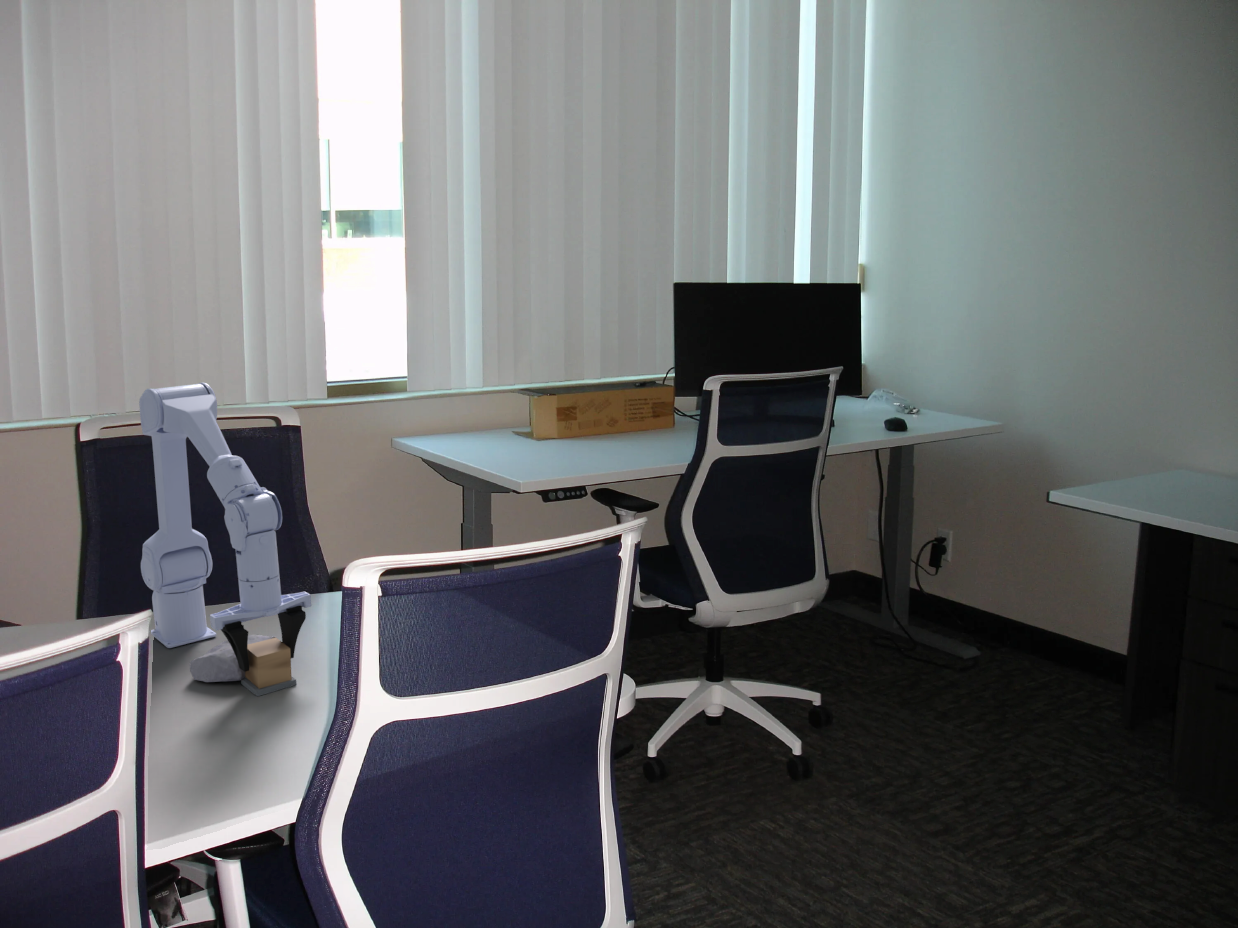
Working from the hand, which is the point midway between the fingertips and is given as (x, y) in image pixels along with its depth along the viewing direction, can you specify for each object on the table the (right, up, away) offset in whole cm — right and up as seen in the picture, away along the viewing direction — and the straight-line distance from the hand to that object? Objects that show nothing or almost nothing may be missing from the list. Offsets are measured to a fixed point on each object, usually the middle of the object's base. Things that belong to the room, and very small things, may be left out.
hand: (266, 662), depth 156 cm
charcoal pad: (0, -3, +1) cm, 3 cm away
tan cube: (0, -2, 0) cm, 2 cm away
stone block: (-7, -2, +6) cm, 10 cm away
